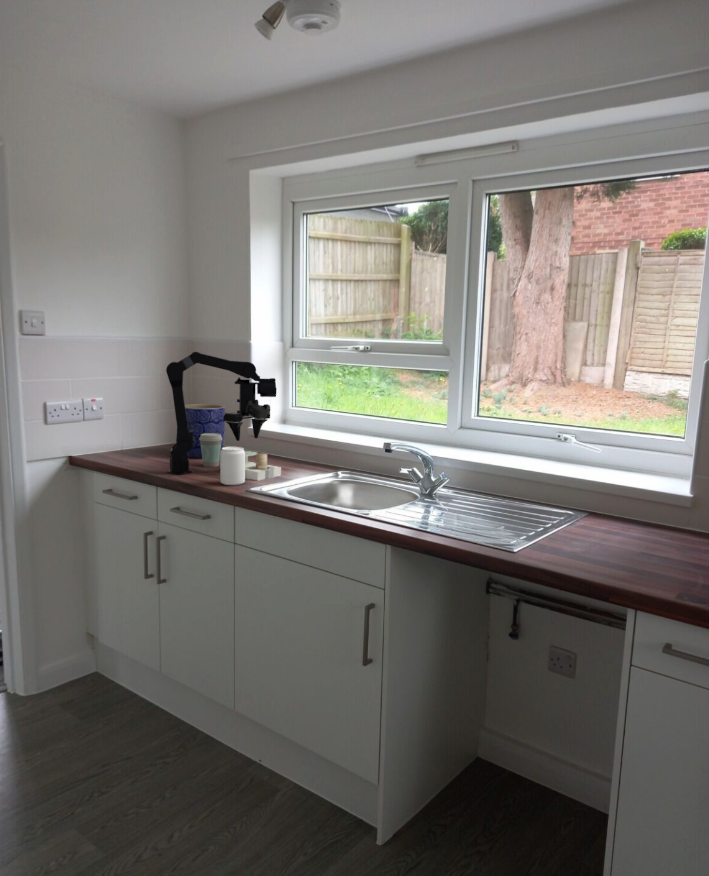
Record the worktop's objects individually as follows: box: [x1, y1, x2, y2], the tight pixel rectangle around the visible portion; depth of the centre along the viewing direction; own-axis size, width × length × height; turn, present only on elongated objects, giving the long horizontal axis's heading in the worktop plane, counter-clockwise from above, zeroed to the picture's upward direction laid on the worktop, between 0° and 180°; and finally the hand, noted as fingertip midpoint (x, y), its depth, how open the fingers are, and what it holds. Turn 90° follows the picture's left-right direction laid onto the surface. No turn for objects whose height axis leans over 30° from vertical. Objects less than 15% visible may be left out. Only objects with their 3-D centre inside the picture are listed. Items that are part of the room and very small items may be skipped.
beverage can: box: [219, 446, 246, 486], centre depth 229 cm, size 8×8×12 cm
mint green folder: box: [244, 450, 259, 462], centre depth 249 cm, size 6×10×7 cm, turn 144°
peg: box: [255, 452, 268, 470], centre depth 242 cm, size 4×4×8 cm
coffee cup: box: [199, 433, 222, 468], centre depth 259 cm, size 8×9×12 cm
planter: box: [185, 403, 226, 459], centre depth 279 cm, size 18×18×21 cm
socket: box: [245, 461, 282, 482], centre depth 244 cm, size 17×12×3 cm
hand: (247, 439), depth 249 cm, fingers open, 9 cm apart
